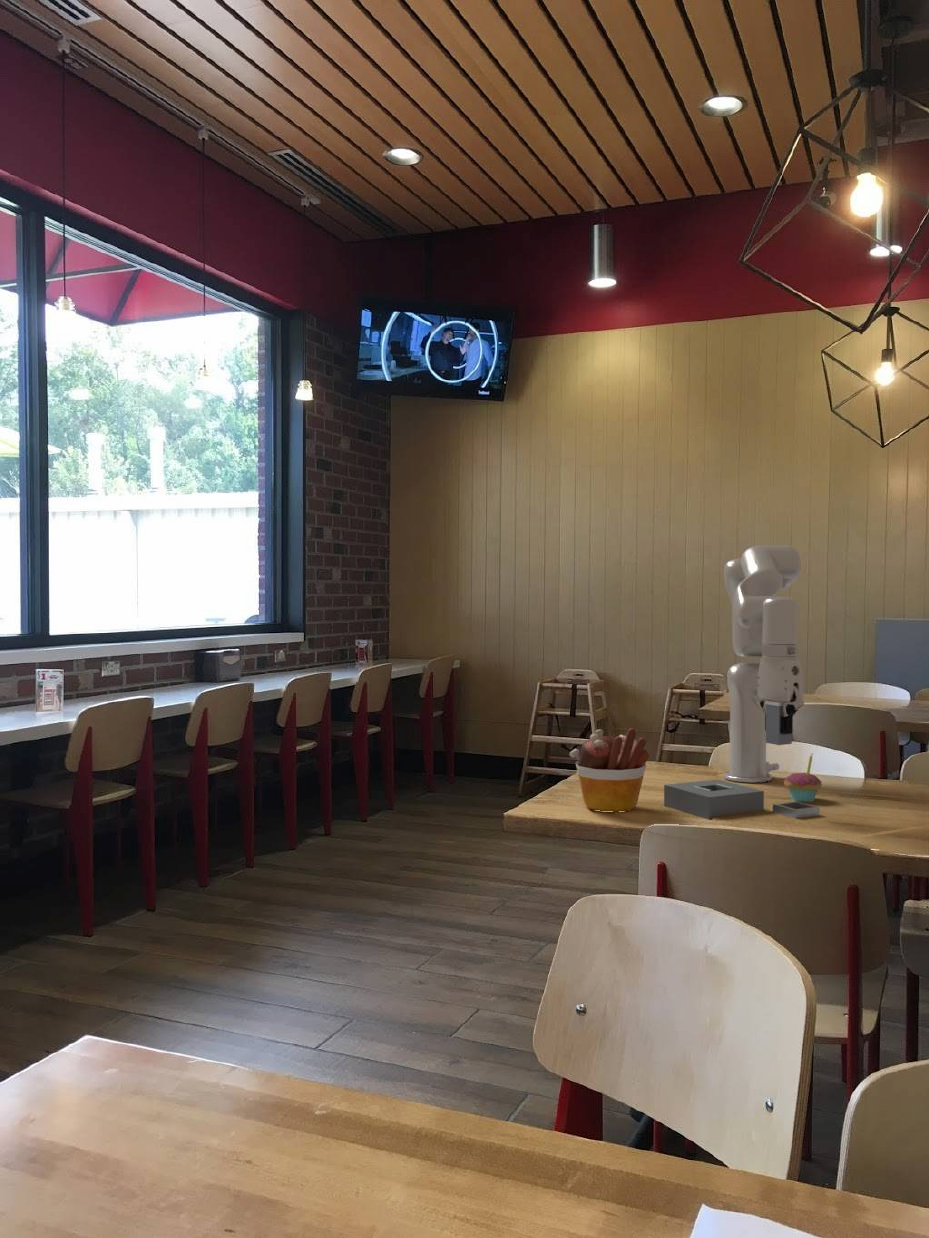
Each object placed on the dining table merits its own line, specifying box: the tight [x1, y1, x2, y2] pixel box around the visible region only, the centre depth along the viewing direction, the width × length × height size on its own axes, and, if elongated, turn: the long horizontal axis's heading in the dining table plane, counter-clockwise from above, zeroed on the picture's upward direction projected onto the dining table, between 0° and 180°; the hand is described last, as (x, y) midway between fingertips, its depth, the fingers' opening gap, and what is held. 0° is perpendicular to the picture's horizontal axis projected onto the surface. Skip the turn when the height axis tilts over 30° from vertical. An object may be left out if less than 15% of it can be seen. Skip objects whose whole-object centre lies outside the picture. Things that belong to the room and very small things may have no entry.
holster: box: [772, 801, 821, 819], centre depth 226 cm, size 7×7×2 cm
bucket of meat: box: [569, 727, 650, 812], centre depth 234 cm, size 20×16×20 cm
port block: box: [663, 779, 765, 820], centre depth 233 cm, size 16×16×5 cm
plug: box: [765, 701, 793, 746], centre depth 227 cm, size 4×4×10 cm
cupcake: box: [783, 753, 823, 803], centre depth 241 cm, size 9×8×12 cm
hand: (778, 731), depth 227 cm, fingers closed on plug, 4 cm apart
